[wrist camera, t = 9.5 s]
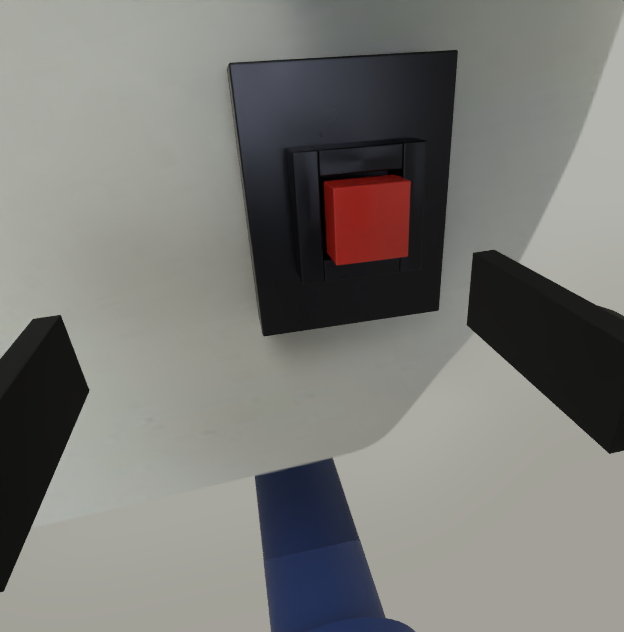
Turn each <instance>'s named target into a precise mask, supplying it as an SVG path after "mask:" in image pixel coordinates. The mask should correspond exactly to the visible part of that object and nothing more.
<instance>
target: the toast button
mask: <svg viewBox="0 0 624 632" xmlns="http://www.w3.org/2000/svg"><path fill="white" fill-rule="evenodd" d="M323 183H324V203H325V224H326V245H327V253H328V255H329V256H330V257H331V259H332V260H333V261H334V263H335V264H336V265H345V264H353V263H361V262H369V261H377V260H384V259H392V258H400V257H407V256H408V241H409V214H410V187H411V181H410V180H407V179H405V178H402V177H400V176H398V175H395V174H390V175H380V176H370V177H360V178H350V179H340V180H329V181H324V182H323Z"/></svg>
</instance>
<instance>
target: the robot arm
mask: <svg viewBox="0 0 624 632" xmlns="http://www.w3.org/2000/svg"><path fill="white" fill-rule="evenodd" d="M467 326H468V327H470V328H471V329H472V330H473V331H474V332H475V333H476V334H477V335H479V336H480V337H481V338H482V339H483V340H484V341H485V342H486V343H487V344H488V345H490V346H491V347H492V348H493V349H494V350H495V351H496V352H497V353H498V354H500V355H501V356H502V357H503V358H504V359H505V360H506V361H507V362H508V363H509V364H511V365H512V366H513V367H514V368H515V369H516V370H517V371H518V372H520V373H521V374H522V375H523V376H524V377H525V378H526V379H527V380H528V381H529V382H531V383H532V384H533V385H534V386H535V387H536V388H537V389H538V390H539V391H541V392H542V393H543V394H544V395H545V396H546V397H547V398H548V399H549V400H551V401H552V402H553V403H554V404H555V405H556V406H557V407H558V408H559V409H561V410H562V411H563V412H564V413H565V414H566V415H567V416H568V417H570V419H572V420H573V421H574V422H575V423H576V424H577V425H578V426H579V427H580V428H582V429H583V430H584V431H585V432H586V433H587V434H588V435H589V436H590V437H592V438H593V439H594V440H595V441H596V442H597V443H598V444H599V445H600V446H602V447H603V448H604V449H605V450H606V451H607V452H608V453H609V454H611V453H614V452H620V451H623V450H624V316H622V315H621V314H619V313H617V312H615V311H613V310H610V309H606V308H603V307H600V306H597V305H595V304H593V303H591V302H589V301H587V300H586V299H584V298H582V297H580V296H578V295H576V294H575V293H573V292H571V291H569V290H567V289H565V288H564V287H562V286H560V285H558V284H556V283H554V282H553V281H551V280H549V279H547V278H545V277H543V276H542V275H540V274H538V273H536V272H534V271H532V270H531V269H529V268H527V267H525V266H523V265H521V264H520V263H518V262H516V261H514V260H512V259H510V258H509V257H507V256H505V255H503V254H501V253H499V252H497V251H496V250H489V251H482V252H475V253H473V260H472V271H471V282H470V294H469V305H468V317H467ZM88 393H89V388H88V386H87V383H86V380H85V378H84V375H83V372H82V370H81V367H80V365H79V362H78V359H77V357H76V354H75V351H74V349H73V346H72V344H71V341H70V338H69V336H68V333H67V330H66V328H65V325H64V323H63V320H62V317H61V315H57V316H50V317H44V318H37V319H33V320H32V321H31V322H30V323H29V325H28V326H27V327H26V328H25V330H24V331H23V332H22V333H21V334H20V336H19V337H18V338H17V339H16V341H15V342H14V343H13V344H12V345H11V347H10V348H9V349H8V350H7V352H6V353H5V354H4V355H3V356H2V358H1V359H0V592H3V591H4V590H5V587H6V585H7V582H8V580H9V578H10V575H11V573H12V571H13V568H14V566H15V564H16V561H17V559H18V557H19V554H20V552H21V550H22V547H23V545H24V543H25V540H26V538H27V536H28V533H29V531H30V529H31V526H32V524H33V522H34V519H35V517H36V515H37V512H38V510H39V508H40V505H41V503H42V501H43V498H44V496H45V494H46V491H47V489H48V486H49V484H50V482H51V479H52V477H53V475H54V472H55V470H56V468H57V465H58V463H59V461H60V458H61V456H62V454H63V451H64V449H65V447H66V444H67V442H68V440H69V437H70V435H71V433H72V430H73V428H74V426H75V423H76V421H77V419H78V416H79V414H80V412H81V409H82V407H83V404H84V402H85V400H86V397H87V395H88Z"/></svg>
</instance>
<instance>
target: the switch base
mask: <svg viewBox="0 0 624 632" xmlns="http://www.w3.org/2000/svg"><path fill="white" fill-rule="evenodd" d="M457 55H458V51H457V50H448V51H430V52H412V53H395V54H377V55H360V56H342V57H324V58H307V59H289V60H272V61H254V62H237V63H229V65H228V67H227V73H228V81H229V88H230V96H231V104H232V112H233V120H234V127H235V135H236V143H237V151H238V158H239V166H240V174H241V182H242V189H243V197H244V205H245V213H246V221H247V228H248V236H249V244H250V252H251V259H252V267H253V275H254V283H255V291H256V298H257V306H258V314H259V319H260V324H261V329H262V334H263V336H270V335H277V334H284V333H290V332H297V331H304V330H311V329H317V328H324V327H331V326H338V325H344V324H351V323H358V322H365V321H371V320H378V319H385V318H392V317H398V316H405V315H412V314H419V313H425V312H432V311H438V310H439V299H440V286H441V272H442V259H443V245H444V231H445V218H446V204H447V191H448V177H449V164H450V150H451V137H452V123H453V109H454V96H455V82H456V69H457ZM390 174H395V175H398V176H400V177H402V178H405V179H407V180H410V181H411V187H410V214H409V241H408V256H407V257H400V258H392V259H384V260H377V261H369V262H361V263H353V264H345V265H336V264H335V263H334V261H333V260H332V259H331V257H330V256H329V255H328V253H327V245H326V224H325V203H324V183H323V182H324V181H329V180H340V179H350V178H360V177H370V176H380V175H390Z"/></svg>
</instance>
